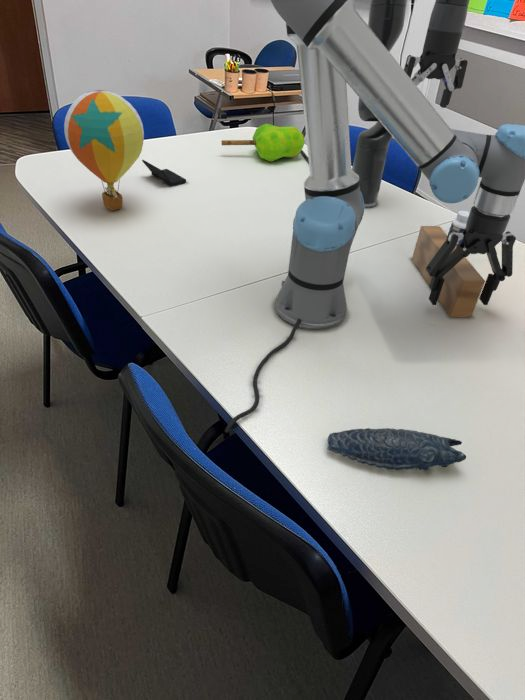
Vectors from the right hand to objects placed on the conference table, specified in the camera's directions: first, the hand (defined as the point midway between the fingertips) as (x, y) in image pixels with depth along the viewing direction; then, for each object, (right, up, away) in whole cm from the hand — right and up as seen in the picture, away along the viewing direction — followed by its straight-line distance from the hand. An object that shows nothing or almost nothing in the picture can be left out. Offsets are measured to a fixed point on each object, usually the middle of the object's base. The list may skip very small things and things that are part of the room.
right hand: (425, 106), depth 125 cm
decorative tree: (-39, +11, +63) cm, 75 cm away
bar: (+3, -43, 0) cm, 43 cm away
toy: (-81, -19, +20) cm, 86 cm away
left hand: (+4, -48, -9) cm, 49 cm away
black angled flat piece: (-70, -5, +39) cm, 81 cm away
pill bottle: (+14, -29, +19) cm, 38 cm away
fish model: (-19, -76, -43) cm, 89 cm away
